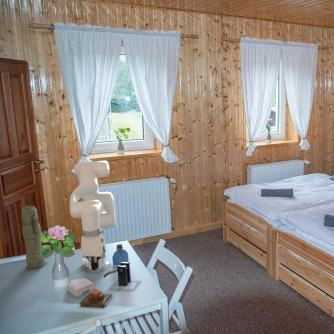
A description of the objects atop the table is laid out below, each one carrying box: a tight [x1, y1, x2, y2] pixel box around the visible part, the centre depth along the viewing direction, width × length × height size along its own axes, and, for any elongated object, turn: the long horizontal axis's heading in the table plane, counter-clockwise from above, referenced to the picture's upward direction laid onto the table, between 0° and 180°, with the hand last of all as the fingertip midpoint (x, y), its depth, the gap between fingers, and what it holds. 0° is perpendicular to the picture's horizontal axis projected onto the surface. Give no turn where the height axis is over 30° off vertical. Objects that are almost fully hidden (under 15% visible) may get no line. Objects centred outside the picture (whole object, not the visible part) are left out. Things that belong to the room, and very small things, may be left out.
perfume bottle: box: [111, 243, 130, 266], centre depth 218 cm, size 6×6×12 cm
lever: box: [103, 264, 128, 278], centre depth 195 cm, size 12×5×2 cm, turn 83°
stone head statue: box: [20, 204, 46, 270], centre depth 216 cm, size 9×12×35 cm
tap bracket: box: [116, 261, 132, 287], centre depth 195 cm, size 12×9×12 cm
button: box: [91, 289, 101, 297], centre depth 181 cm, size 4×4×2 cm
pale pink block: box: [67, 277, 96, 297], centre depth 192 cm, size 5×9×15 cm
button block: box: [79, 290, 113, 309], centre depth 181 cm, size 11×9×4 cm
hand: (95, 268), depth 180 cm, fingers closed
